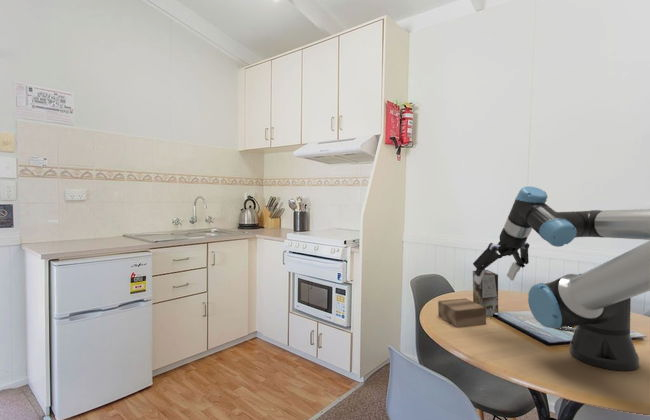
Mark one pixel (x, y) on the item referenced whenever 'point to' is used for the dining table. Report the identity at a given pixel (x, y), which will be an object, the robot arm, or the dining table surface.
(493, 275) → the coffee box
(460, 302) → the walnut stand
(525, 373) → the dining table surface
